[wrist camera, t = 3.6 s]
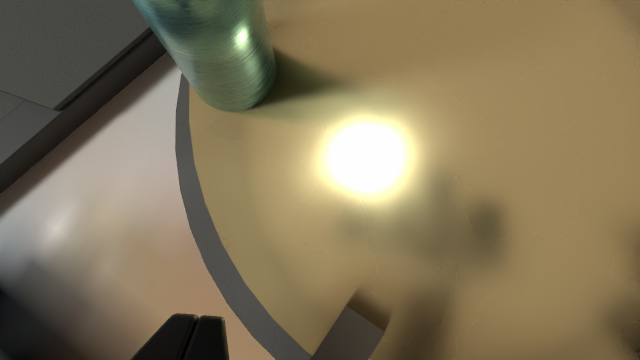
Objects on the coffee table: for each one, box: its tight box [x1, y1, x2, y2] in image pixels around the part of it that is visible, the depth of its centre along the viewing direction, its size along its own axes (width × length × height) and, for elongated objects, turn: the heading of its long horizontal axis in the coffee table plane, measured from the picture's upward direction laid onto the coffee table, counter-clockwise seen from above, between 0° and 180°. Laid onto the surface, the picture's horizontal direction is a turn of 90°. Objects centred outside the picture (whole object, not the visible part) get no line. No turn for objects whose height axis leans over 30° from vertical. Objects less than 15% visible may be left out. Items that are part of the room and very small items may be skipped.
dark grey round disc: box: [175, 73, 310, 360], centre depth 16 cm, size 17×18×3 cm
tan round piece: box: [131, 0, 640, 360], centre depth 10 cm, size 15×15×10 cm
